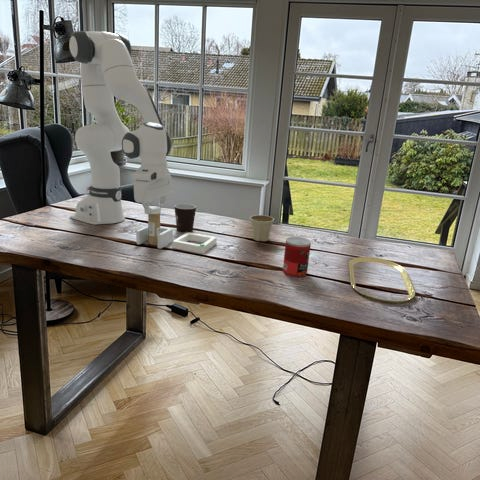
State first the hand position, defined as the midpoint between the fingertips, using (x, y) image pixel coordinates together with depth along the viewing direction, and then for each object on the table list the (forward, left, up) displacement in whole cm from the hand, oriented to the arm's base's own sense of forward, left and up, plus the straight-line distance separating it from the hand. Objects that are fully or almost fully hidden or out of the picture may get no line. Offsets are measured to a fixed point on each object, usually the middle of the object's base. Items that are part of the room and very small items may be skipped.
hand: (155, 210), depth 150 cm
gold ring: (+79, +6, -13) cm, 80 cm away
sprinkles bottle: (0, 0, -13) cm, 13 cm away
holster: (0, 0, -12) cm, 12 cm away
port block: (+14, +5, -12) cm, 19 cm away
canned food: (+53, -2, -13) cm, 54 cm away
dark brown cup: (+2, +21, -13) cm, 25 cm away
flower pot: (+33, +25, -13) cm, 43 cm away
